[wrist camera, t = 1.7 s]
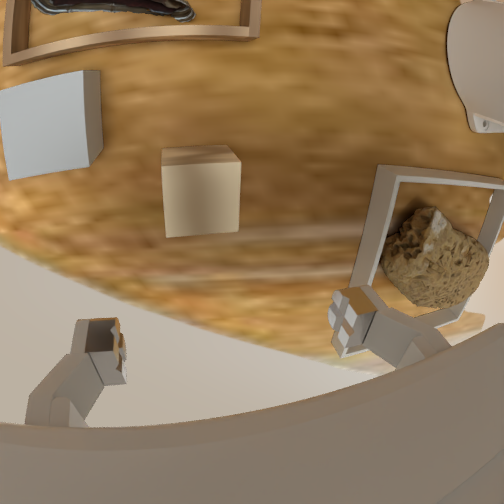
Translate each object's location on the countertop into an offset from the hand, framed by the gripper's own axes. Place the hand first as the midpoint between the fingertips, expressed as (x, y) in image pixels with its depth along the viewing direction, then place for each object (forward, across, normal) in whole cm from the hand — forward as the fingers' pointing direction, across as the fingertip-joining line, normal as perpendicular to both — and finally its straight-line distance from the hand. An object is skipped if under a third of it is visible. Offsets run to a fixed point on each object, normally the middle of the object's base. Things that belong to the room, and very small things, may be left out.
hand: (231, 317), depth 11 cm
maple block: (+16, 0, 0) cm, 16 cm away
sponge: (+16, -30, +10) cm, 35 cm away
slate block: (+16, +10, -6) cm, 19 cm away
